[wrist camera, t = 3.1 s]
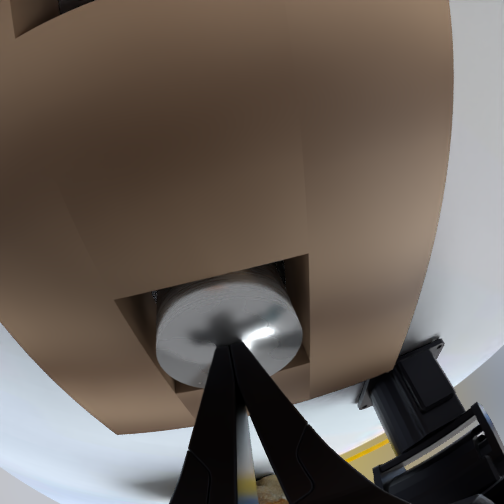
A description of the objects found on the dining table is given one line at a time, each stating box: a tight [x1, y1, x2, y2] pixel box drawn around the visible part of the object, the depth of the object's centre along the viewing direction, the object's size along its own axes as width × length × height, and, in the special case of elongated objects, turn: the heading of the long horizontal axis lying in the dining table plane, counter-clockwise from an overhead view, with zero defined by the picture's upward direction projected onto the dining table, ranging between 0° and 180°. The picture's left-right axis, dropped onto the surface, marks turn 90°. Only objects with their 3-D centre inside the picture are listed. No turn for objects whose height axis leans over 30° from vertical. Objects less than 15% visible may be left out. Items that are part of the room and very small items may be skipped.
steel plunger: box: [156, 262, 303, 388], centre depth 10 cm, size 4×4×3 cm
